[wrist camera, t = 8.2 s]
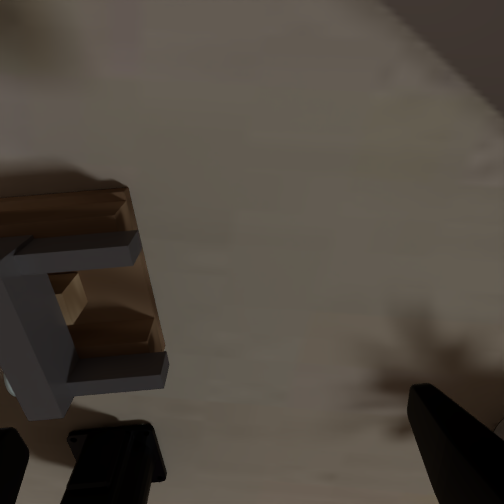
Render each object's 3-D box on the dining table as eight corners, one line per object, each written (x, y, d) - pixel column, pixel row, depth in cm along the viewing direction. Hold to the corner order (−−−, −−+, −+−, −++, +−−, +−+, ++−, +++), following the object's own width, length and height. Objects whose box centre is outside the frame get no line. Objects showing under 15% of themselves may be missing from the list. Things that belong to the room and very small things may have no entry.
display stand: (165, 345, 24) (156, 379, 22) (59, 354, 24) (37, 389, 21) (128, 187, 19) (111, 205, 17) (-5, 198, 19) (-44, 218, 17)
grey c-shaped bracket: (169, 367, 21) (160, 409, 18) (50, 377, 21) (23, 421, 18) (137, 226, 17) (119, 253, 14) (-11, 238, 17) (-57, 268, 14)
